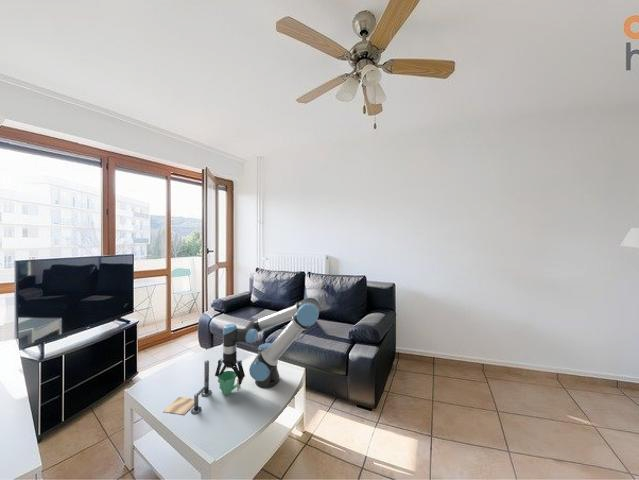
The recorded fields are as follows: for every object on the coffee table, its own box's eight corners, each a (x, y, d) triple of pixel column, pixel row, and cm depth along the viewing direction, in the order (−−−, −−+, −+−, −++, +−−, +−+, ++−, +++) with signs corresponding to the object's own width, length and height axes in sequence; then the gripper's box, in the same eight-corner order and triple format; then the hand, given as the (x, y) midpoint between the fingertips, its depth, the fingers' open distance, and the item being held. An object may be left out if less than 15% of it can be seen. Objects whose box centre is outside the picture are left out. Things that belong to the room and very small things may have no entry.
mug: (220, 399, 144) (221, 382, 144) (215, 390, 152) (216, 373, 152) (246, 390, 153) (246, 374, 153) (240, 382, 161) (240, 366, 161)
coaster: (198, 400, 145) (198, 399, 145) (184, 415, 133) (184, 414, 133) (179, 397, 147) (179, 396, 147) (163, 412, 135) (163, 411, 135)
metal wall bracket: (217, 391, 153) (218, 360, 152) (197, 414, 134) (197, 378, 133) (204, 390, 154) (205, 358, 153) (183, 412, 135) (183, 376, 134)
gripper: (251, 350, 154) (251, 386, 155) (215, 347, 158) (215, 383, 158) (245, 356, 147) (245, 394, 147) (208, 352, 150) (208, 390, 151)
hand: (230, 388), depth 153 cm, fingers closed on mug, 10 cm apart
